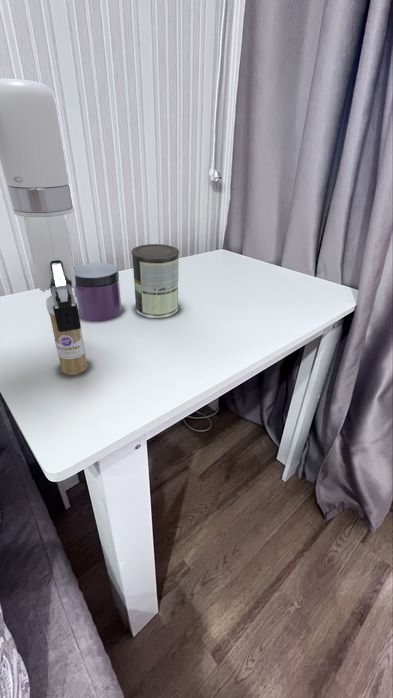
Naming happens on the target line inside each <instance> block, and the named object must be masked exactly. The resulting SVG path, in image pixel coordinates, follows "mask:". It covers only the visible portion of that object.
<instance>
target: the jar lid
mask: <svg viewBox="0 0 393 698" xmlns="http://www.w3.org/2000/svg"><path fill="white" fill-rule="evenodd" d="M74 272H75V282H76V284H77V285H81V286H89V287H95V286H104V285H108V284H111V283H113V282H115V281H117V280H118V277H119V276H120V274H119V268H118V267H117V266H116V265H115V264H112V263H108V262H99V261H98V262H97V261H95V262H86V263H81V264H78V265H74ZM119 278H120V277H119Z"/></svg>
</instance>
